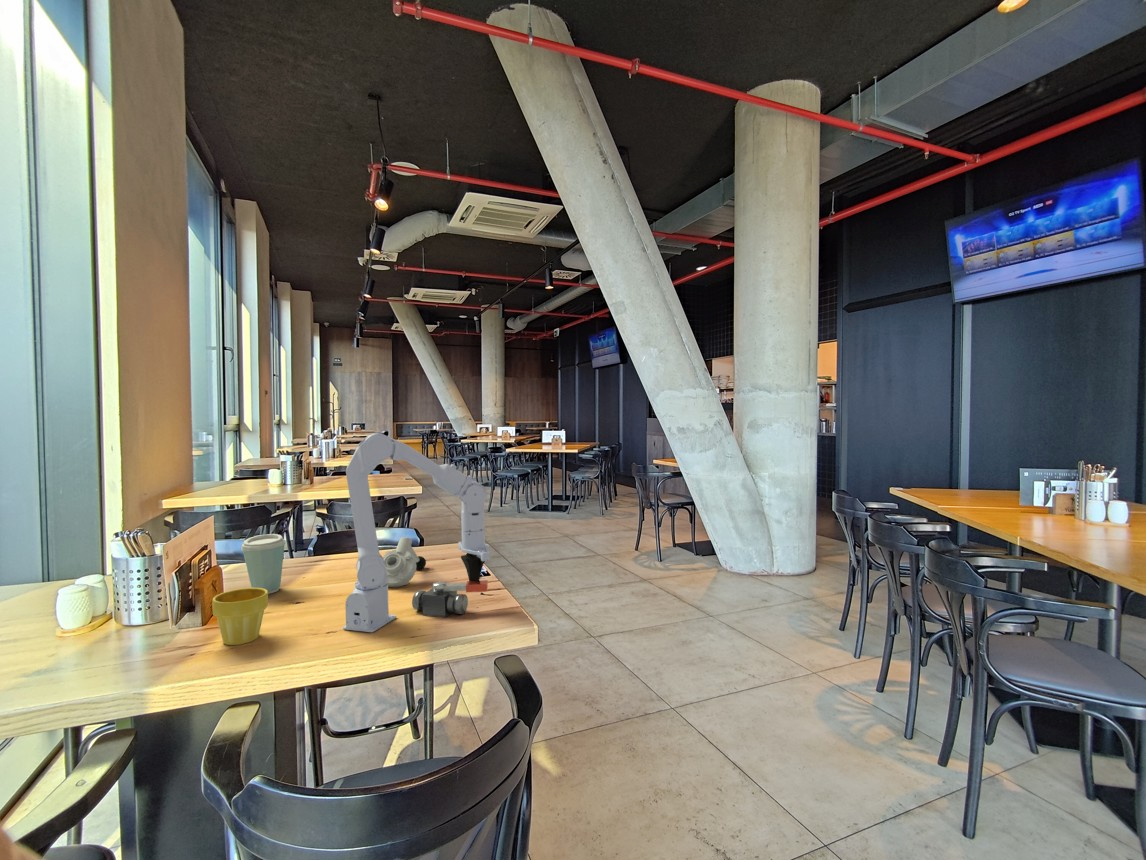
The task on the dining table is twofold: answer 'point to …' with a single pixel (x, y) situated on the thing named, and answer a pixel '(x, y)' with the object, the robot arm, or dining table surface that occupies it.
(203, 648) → the dining table surface
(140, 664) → the dining table surface
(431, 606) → the pipe valve
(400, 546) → the grey rounded housing
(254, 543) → the disposable coffee cup
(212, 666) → the dining table surface
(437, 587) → the valve lever
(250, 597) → the plant pot
